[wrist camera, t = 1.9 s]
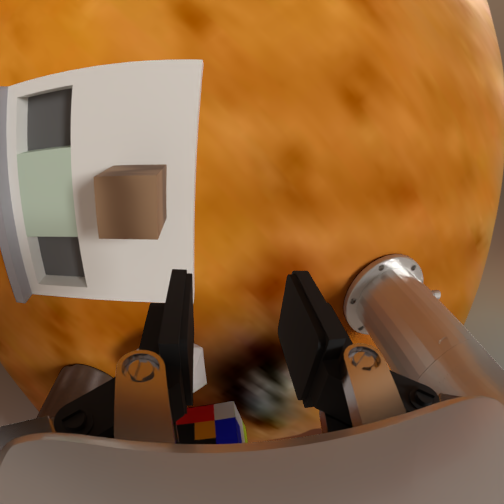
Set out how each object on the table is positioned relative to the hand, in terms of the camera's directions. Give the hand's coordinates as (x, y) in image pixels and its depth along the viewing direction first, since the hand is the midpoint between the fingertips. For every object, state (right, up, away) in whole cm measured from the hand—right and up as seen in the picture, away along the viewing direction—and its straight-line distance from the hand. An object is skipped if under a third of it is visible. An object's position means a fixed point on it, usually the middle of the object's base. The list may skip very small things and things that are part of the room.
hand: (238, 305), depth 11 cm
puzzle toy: (-7, -27, +34) cm, 45 cm away
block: (-10, +8, +14) cm, 18 cm away
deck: (-16, +9, +15) cm, 24 cm away
